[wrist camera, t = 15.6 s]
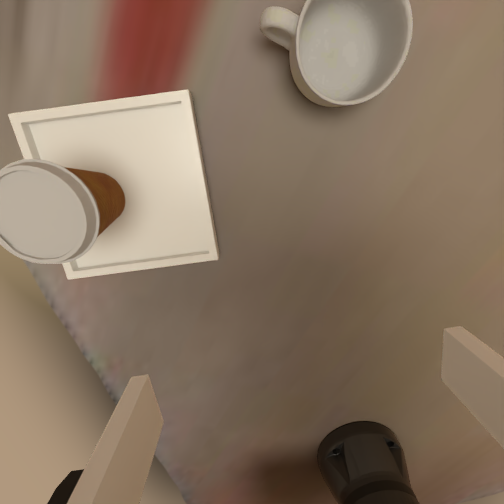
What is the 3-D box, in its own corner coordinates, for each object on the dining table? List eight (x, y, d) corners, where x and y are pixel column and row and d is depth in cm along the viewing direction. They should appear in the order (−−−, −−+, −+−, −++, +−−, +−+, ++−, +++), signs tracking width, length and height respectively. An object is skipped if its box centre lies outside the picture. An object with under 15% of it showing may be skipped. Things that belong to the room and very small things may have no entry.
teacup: (393, 37, 33) (438, 1, 25) (345, 130, 36) (373, 123, 28) (283, -29, 31) (298, -90, 23) (243, 77, 34) (243, 54, 26)
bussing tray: (219, 253, 40) (218, 259, 38) (78, 272, 40) (68, 279, 38) (191, 94, 34) (188, 89, 31) (24, 117, 34) (7, 114, 32)
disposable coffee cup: (50, 161, 34) (-44, 164, 23) (129, 154, 35) (75, 154, 23) (72, 237, 38) (-2, 273, 26) (145, 231, 38) (104, 264, 26)
